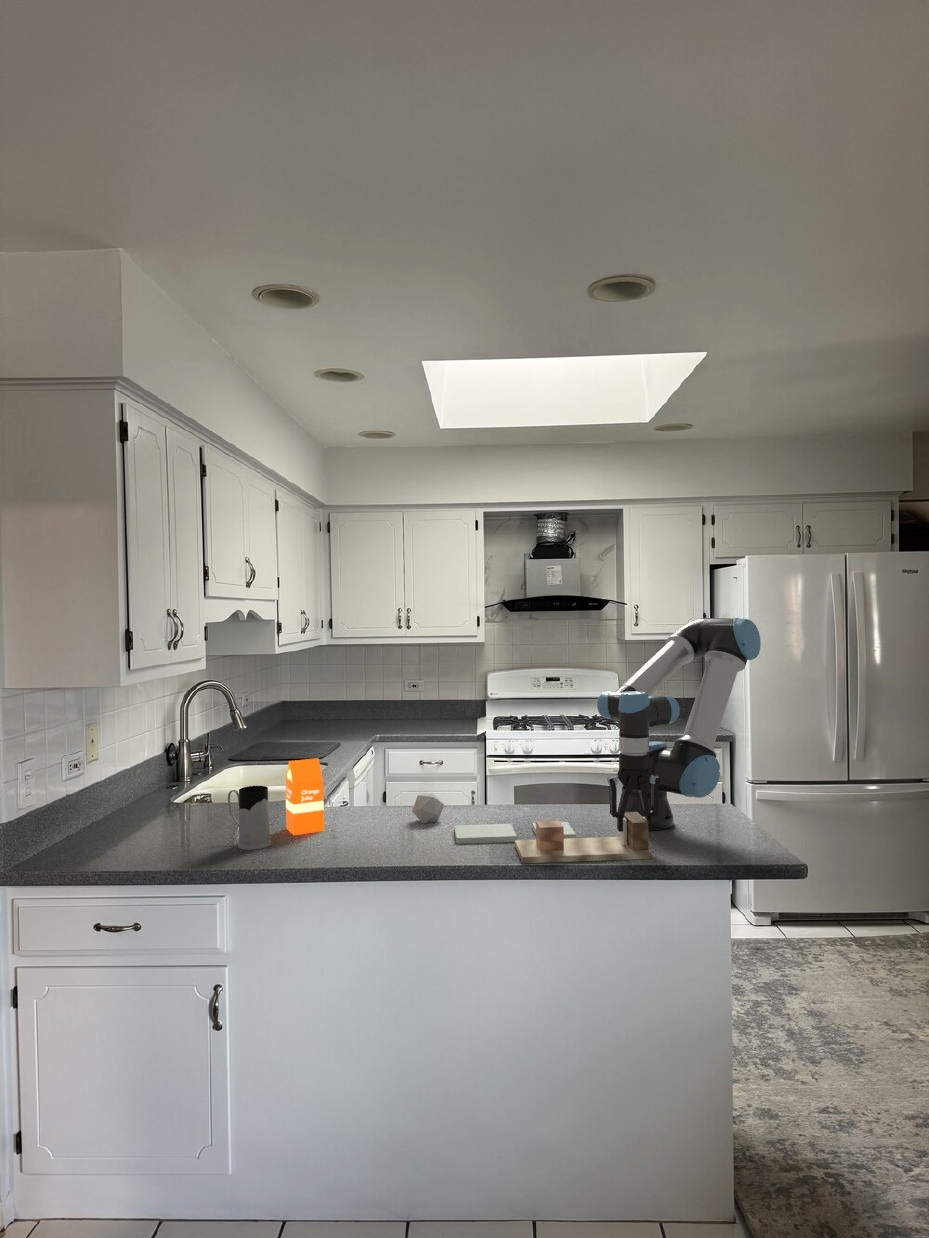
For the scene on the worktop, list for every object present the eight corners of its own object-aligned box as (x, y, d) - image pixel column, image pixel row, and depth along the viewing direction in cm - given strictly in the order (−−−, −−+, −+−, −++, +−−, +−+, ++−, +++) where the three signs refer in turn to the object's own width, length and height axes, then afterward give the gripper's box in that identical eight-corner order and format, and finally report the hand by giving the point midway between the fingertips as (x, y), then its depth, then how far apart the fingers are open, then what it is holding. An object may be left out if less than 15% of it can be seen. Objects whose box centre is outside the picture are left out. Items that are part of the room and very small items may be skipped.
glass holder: (253, 851, 212) (252, 794, 212) (216, 843, 220) (215, 787, 220) (278, 842, 220) (277, 787, 219) (241, 835, 227) (240, 781, 227)
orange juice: (286, 828, 233) (284, 758, 233) (316, 824, 237) (314, 755, 237) (293, 835, 226) (292, 763, 226) (324, 830, 230) (323, 760, 230)
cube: (559, 843, 210) (559, 820, 210) (563, 850, 204) (563, 826, 204) (536, 844, 210) (536, 820, 210) (540, 851, 204) (539, 827, 204)
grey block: (434, 817, 245) (415, 792, 245) (453, 807, 240) (433, 782, 240) (422, 833, 238) (401, 808, 238) (441, 823, 234) (420, 797, 233)
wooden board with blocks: (635, 841, 216) (634, 809, 216) (650, 858, 202) (650, 824, 202) (514, 845, 214) (514, 813, 214) (522, 863, 200) (522, 828, 200)
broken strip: (567, 826, 231) (567, 821, 231) (576, 839, 219) (575, 833, 219) (454, 830, 229) (454, 825, 229) (456, 843, 217) (456, 838, 217)
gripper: (663, 749, 212) (663, 838, 213) (596, 750, 211) (596, 840, 212) (672, 754, 205) (672, 847, 206) (603, 756, 204) (603, 848, 204)
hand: (633, 843), depth 209 cm, fingers closed on wooden board with blocks, 5 cm apart
